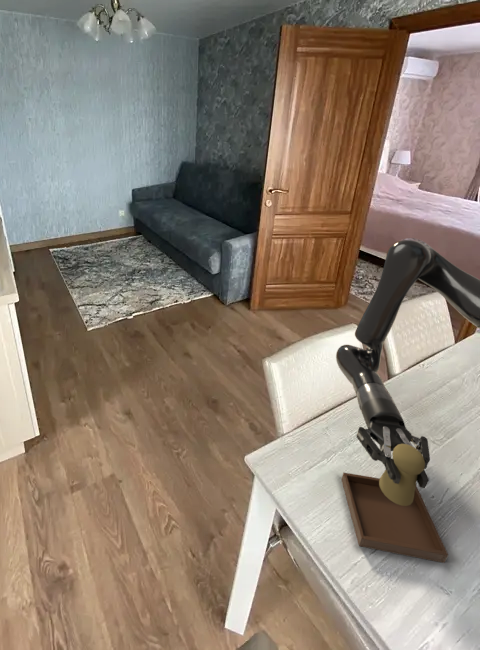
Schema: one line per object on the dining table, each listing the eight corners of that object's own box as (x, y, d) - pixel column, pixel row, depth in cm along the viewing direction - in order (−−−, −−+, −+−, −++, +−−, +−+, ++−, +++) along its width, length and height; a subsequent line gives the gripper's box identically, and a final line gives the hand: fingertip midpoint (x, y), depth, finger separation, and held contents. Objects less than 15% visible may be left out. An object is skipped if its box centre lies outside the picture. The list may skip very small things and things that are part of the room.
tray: (413, 491, 77) (416, 484, 76) (444, 563, 65) (448, 555, 64) (341, 479, 80) (343, 472, 79) (358, 546, 68) (361, 538, 67)
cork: (374, 487, 70) (387, 450, 66) (385, 468, 74) (399, 432, 69) (407, 513, 66) (423, 475, 61) (418, 491, 69) (434, 454, 65)
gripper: (349, 392, 80) (375, 463, 64) (416, 401, 77) (459, 477, 62) (342, 415, 83) (366, 488, 67) (407, 425, 80) (446, 503, 65)
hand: (410, 482), depth 65 cm, fingers closed on cork, 4 cm apart
